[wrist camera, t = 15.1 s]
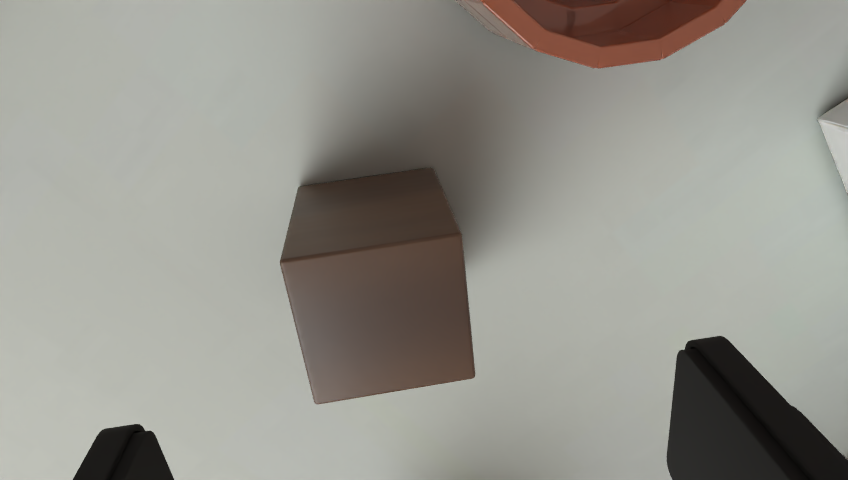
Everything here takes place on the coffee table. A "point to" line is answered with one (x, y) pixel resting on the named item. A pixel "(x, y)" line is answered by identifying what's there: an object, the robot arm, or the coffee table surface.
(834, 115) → the cosmetic box
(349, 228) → the block
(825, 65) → the coffee table surface
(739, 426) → the robot arm
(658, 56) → the bowl
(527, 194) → the coffee table surface
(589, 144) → the coffee table surface
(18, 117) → the coffee table surface
